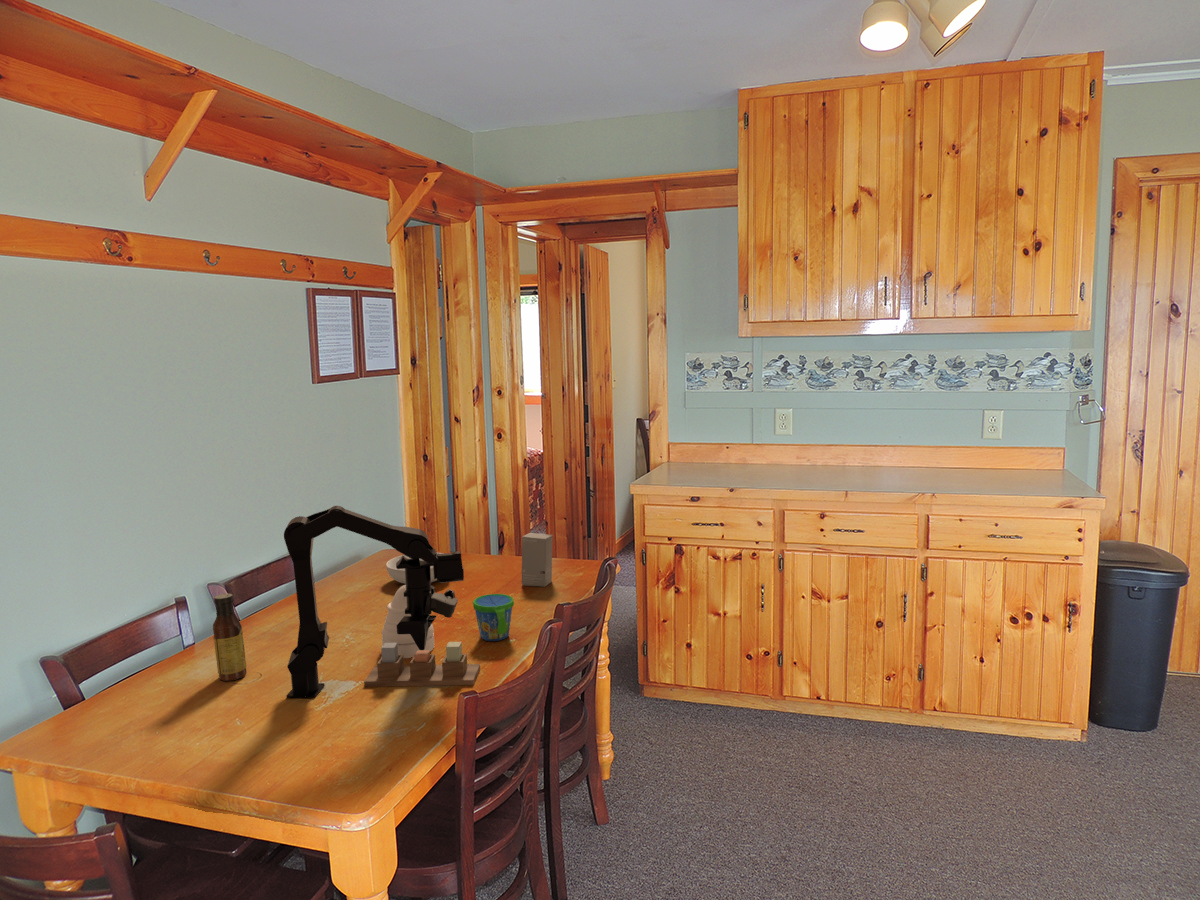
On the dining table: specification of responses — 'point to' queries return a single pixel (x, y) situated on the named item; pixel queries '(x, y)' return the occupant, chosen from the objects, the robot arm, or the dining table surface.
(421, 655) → the orange rectangular block
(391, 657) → the grey chamfered block
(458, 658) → the beige rectangular block
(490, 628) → the snack cup
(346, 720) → the dining table surface
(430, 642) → the honey pot
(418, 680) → the brown block rack
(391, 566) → the serving bowl
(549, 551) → the skincare box
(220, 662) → the sauce bottle
